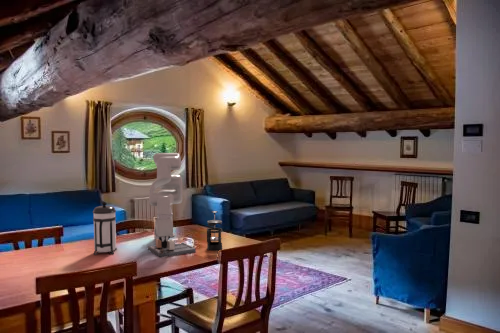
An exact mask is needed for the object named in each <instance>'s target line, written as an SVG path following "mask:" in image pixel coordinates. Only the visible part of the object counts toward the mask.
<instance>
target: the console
mask: <svg viewBox="0 0 500 333" xmlns="http://www.w3.org/2000/svg"><path fill="white" fill-rule="evenodd" d="M181 242H182V243H181V244H175V249H174V250H169V249H167V248H157V247H156V245H151V246H147V251H148V252H150V253H152V254H153V255H155V256H156V257H158V258H159V259H160V258H167V257H174V256H180V255H185V254H192V253H196V252H197V250H196V248H195V247H193V246H192V245H191V244H187V243H186V242H184V241H181Z"/></svg>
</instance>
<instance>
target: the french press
mask: <svg viewBox="0 0 500 333" xmlns="http://www.w3.org/2000/svg"><path fill="white" fill-rule="evenodd" d="M211 213H212V214H213V216H214V218H213V219H212V220H211V219H210V220H207V226H209V227H208V228H206V243H207V246H206V247H207V248H206V250H207V251H210V252H215V251H216V252H217V251H221V250H220V249H222V250H223V243H222V239H223V237H222V232H223V229H222V228H221V227H216V225H222V223H223V221H222V220H219V219H216V213H218V211H216V210H212V211H211ZM212 234H214V236H212ZM216 234H217V236H216Z"/></svg>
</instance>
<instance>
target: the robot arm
mask: <svg viewBox="0 0 500 333" xmlns="http://www.w3.org/2000/svg"><path fill="white" fill-rule="evenodd" d="M152 160H153V162H154V164H155V166H156V179H155V180H154V181H153V182H152V183H151V185H150V187H149V189H148V190H149V192H148V197H149V198H148V201H149V205H150V206H152V207H156V213H157V216H156V217H157V218H155V221H154V229H153V230H154V239H155V240H156V239H160V240H161V246H162V248H167V241H168V240H170V239H171V238H173V237H175V236H176V234H175V232H174V224H173V216H174V214H173V209H172V207H171V206H172V205H177V204H178V205H180V204H181V203H182V202H183V196H184V194H183V178H182V176H181V175H179V174H172V171H178V170H181V167H182V166H181V165H182V159H181V155H180V153H178V152H158V153H154V155H153V158H152ZM158 188H160V189H161V190H158V192H157V193H156V192H155V191H156V190H157V189H158Z"/></svg>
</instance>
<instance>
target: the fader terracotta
mask: <svg viewBox="0 0 500 333" xmlns="http://www.w3.org/2000/svg"><path fill="white" fill-rule="evenodd" d="M155 246H156V247H157V248H162V246H161V240H160V239H155Z"/></svg>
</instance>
